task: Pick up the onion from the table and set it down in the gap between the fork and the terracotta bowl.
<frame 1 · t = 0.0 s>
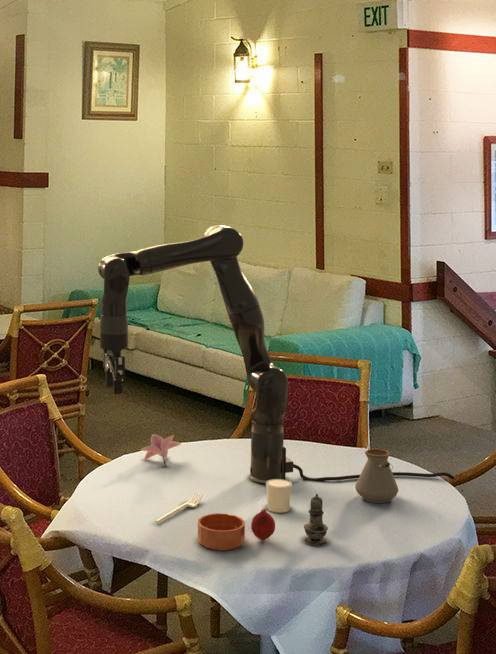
hand: (113, 389, 259), 29 cm above the table, tool pointing down, fingers open, 8 cm apart
bowl: (221, 541, 232), on the table
onion: (262, 541, 233), on the table
pawn-shaped pepper mill: (315, 542, 233), on the table
cream cylinder: (278, 509, 254), on the table
fork: (178, 512, 251), on the table
lily: (160, 463, 290), on the table
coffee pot: (379, 505, 257), on the table
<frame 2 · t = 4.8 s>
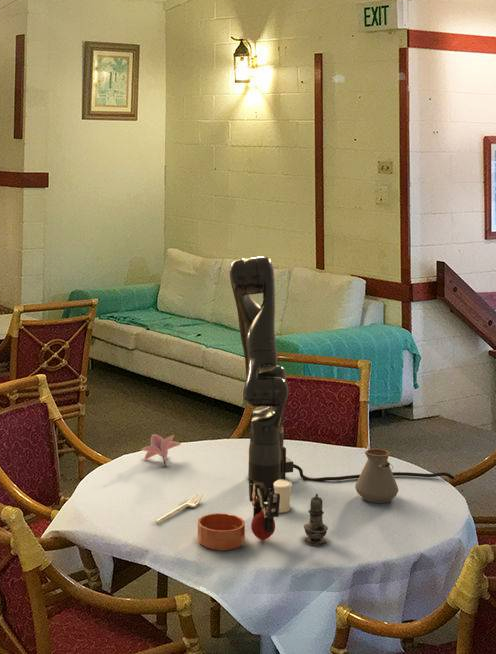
hand: (263, 526, 233), 4 cm above the table, tool pointing down, fingers closed on onion, 6 cm apart
onion: (262, 541, 233), on the table, touching gripper
everything else where it was.
when the fingers open (4 cm above the table, at t = 11.9 s): onion stays where it is, on the table.
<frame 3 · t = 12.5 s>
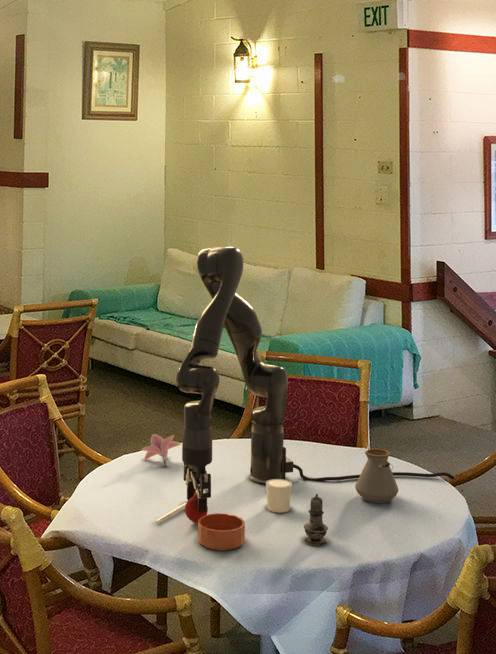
hand: (196, 506, 243), 5 cm above the table, tool pointing down, fingers open, 8 cm apart
onion: (196, 524, 243), on the table
everything else where it was.
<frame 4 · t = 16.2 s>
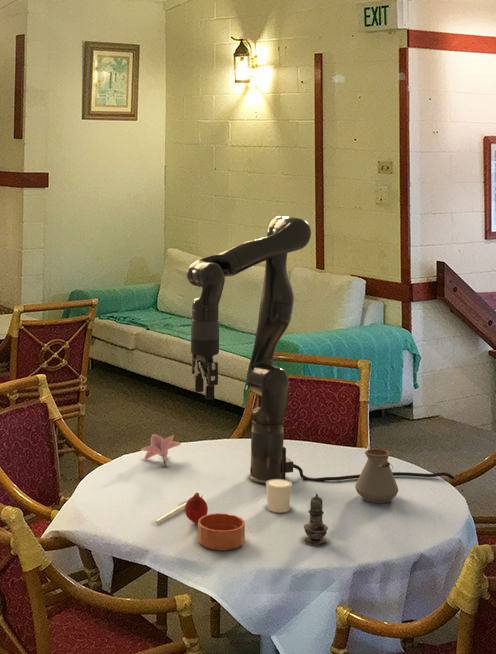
hand: (204, 395, 259), 28 cm above the table, tool pointing down, fingers open, 8 cm apart
nothing on the table moved.
at the end: onion inside the target area (0.1 cm from its centre), on the table; the gripper is holding nothing; fork moved 0.2 cm from its start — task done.
